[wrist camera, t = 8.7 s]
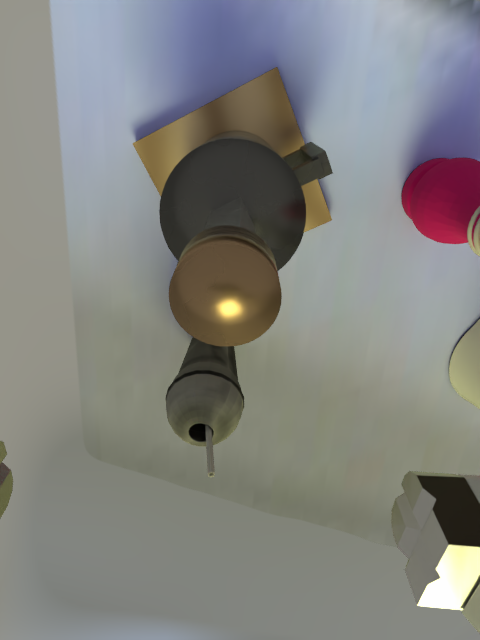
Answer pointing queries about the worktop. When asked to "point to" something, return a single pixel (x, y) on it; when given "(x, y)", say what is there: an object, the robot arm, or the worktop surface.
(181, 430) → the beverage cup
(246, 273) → the plunger
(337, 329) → the worktop surface
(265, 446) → the worktop surface
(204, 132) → the plate
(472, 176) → the pepper mill
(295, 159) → the press
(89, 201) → the worktop surface
